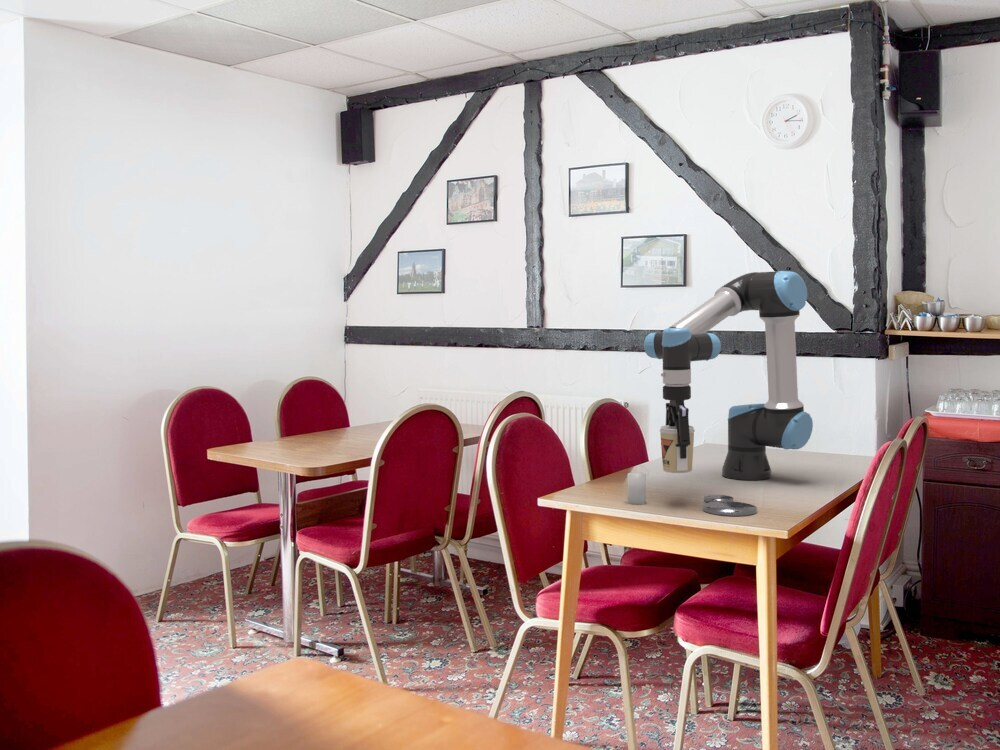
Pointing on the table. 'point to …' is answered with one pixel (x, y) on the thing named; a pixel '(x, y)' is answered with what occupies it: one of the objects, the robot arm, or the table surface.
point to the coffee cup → (674, 449)
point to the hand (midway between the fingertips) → (677, 467)
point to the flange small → (717, 498)
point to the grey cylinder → (636, 488)
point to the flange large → (729, 508)
